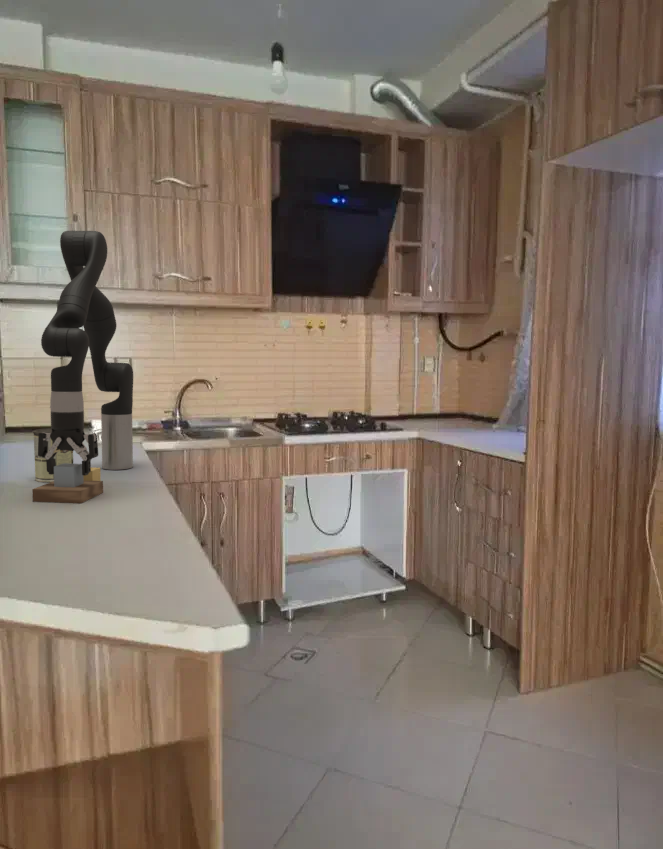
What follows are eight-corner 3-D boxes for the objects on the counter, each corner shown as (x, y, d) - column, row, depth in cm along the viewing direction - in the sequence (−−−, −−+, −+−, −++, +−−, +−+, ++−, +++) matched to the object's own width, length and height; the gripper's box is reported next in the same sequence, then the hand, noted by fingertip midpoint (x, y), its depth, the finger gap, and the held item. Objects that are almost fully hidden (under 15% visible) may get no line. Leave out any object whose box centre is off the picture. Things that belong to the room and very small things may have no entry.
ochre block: (82, 485, 165) (82, 467, 165) (100, 485, 165) (100, 467, 164) (74, 488, 160) (73, 470, 160) (92, 489, 160) (92, 471, 159)
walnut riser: (58, 490, 157) (58, 479, 157) (103, 492, 156) (102, 481, 156) (32, 501, 145) (32, 489, 145) (81, 503, 144) (81, 490, 144)
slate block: (64, 482, 153) (63, 463, 152) (83, 483, 153) (83, 463, 152) (54, 486, 148) (53, 466, 147) (74, 487, 148) (73, 467, 147)
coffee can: (47, 474, 178) (46, 427, 176) (80, 476, 177) (79, 428, 175) (26, 481, 168) (25, 431, 166) (61, 483, 167) (60, 432, 165)
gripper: (102, 409, 152) (103, 472, 153) (47, 407, 152) (49, 470, 154) (88, 411, 144) (89, 478, 146) (30, 410, 145) (32, 476, 147)
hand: (68, 474), depth 150 cm, fingers open, 8 cm apart
